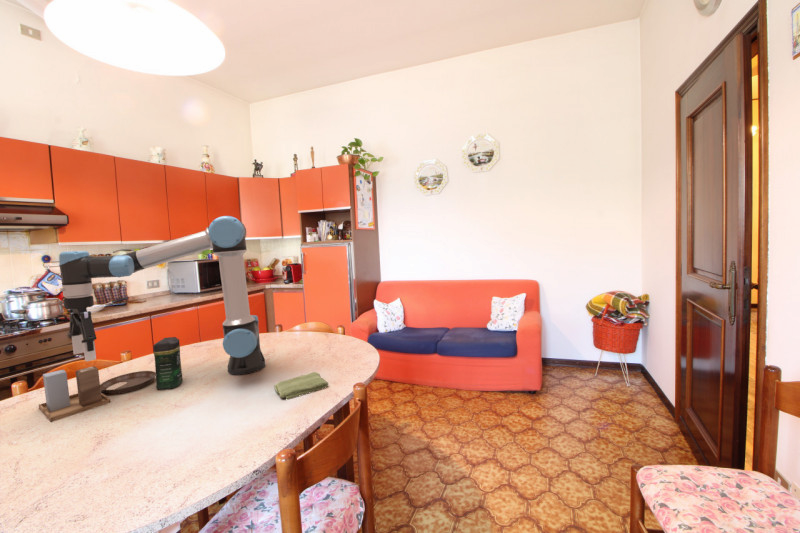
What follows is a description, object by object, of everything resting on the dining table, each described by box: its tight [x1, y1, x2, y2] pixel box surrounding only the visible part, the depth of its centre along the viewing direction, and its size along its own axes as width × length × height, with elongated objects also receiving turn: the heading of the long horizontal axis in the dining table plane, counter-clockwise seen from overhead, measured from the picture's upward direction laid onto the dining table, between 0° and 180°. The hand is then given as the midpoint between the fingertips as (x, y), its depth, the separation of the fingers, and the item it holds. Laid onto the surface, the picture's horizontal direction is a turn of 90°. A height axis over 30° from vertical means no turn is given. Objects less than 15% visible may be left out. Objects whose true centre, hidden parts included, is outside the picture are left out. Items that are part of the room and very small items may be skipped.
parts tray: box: [38, 392, 112, 423], centre depth 120 cm, size 17×15×2 cm
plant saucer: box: [100, 370, 156, 395], centre depth 135 cm, size 18×18×3 cm
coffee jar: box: [152, 336, 183, 391], centre depth 134 cm, size 10×8×19 cm
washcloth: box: [273, 371, 329, 400], centre depth 128 cm, size 13×18×3 cm
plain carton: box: [42, 369, 70, 412], centre depth 118 cm, size 4×5×12 cm
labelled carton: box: [75, 365, 102, 407], centre depth 121 cm, size 4×5×12 cm
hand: (84, 356), depth 120 cm, fingers open, 13 cm apart
